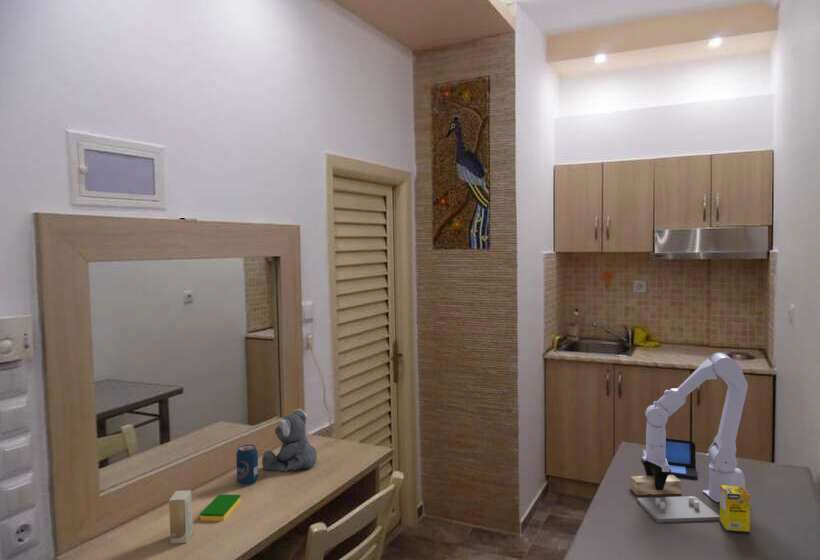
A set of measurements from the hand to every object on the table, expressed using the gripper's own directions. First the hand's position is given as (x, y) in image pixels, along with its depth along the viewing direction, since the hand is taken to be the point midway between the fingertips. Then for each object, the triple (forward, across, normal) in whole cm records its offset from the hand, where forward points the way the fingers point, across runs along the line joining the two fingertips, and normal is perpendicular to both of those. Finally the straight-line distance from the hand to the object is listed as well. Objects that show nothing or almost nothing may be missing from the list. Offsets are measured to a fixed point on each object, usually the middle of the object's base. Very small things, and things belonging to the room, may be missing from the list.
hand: (655, 485), depth 188 cm
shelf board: (+2, 0, 0) cm, 2 cm away
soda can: (+2, -17, -132) cm, 133 cm away
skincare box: (+2, +21, -141) cm, 143 cm away
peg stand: (+2, +14, 0) cm, 14 cm away
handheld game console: (+2, -17, +13) cm, 22 cm away
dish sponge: (+2, +4, -135) cm, 135 cm away
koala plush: (+2, -32, -119) cm, 123 cm away
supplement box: (+2, +26, +10) cm, 28 cm away
